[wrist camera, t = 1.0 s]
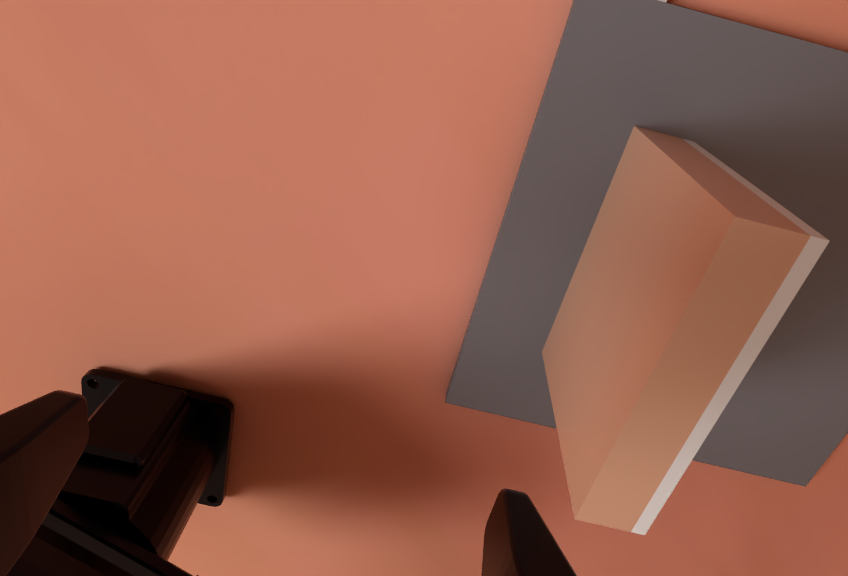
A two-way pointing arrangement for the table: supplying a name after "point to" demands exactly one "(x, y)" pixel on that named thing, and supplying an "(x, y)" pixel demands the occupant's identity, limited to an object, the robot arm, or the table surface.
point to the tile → (664, 322)
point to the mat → (731, 144)
